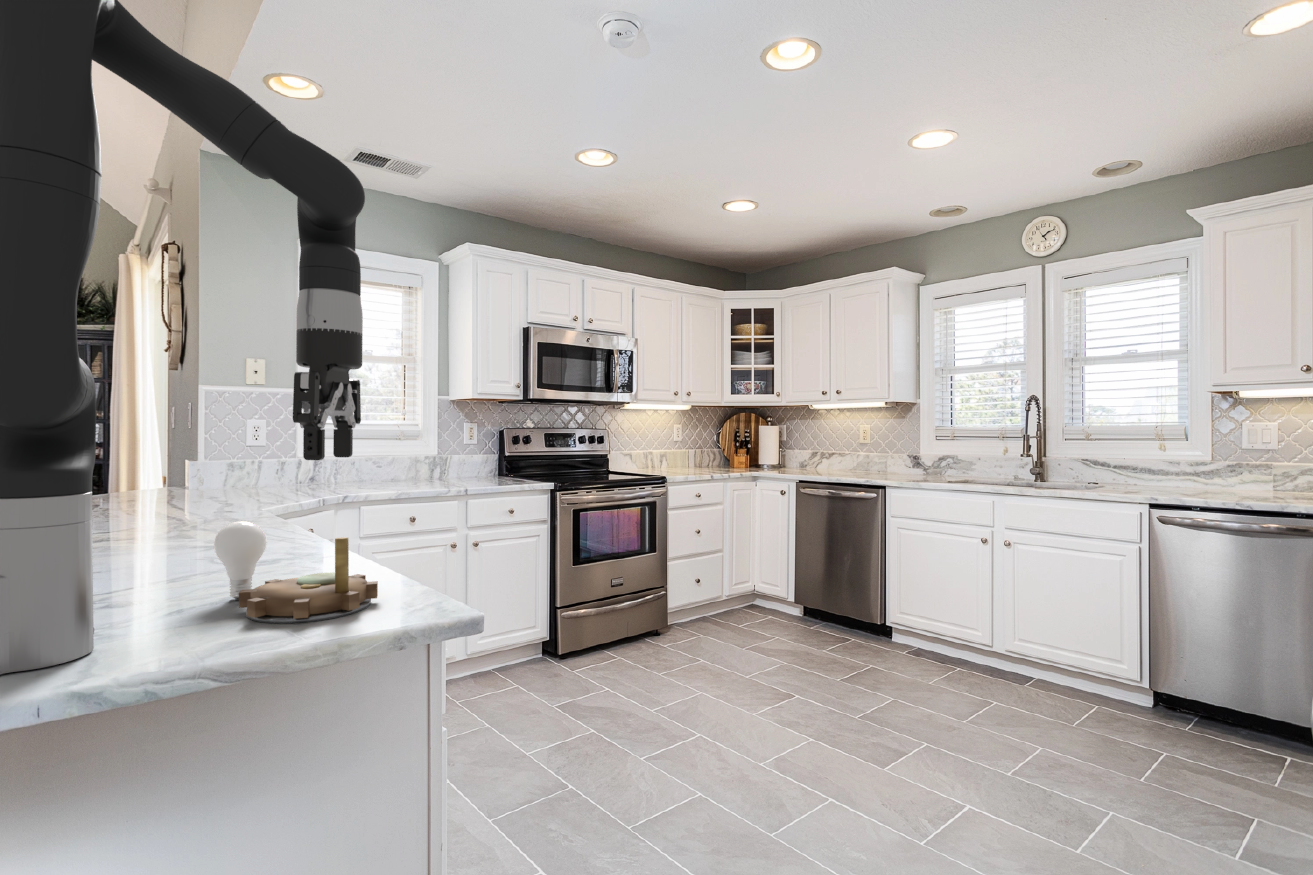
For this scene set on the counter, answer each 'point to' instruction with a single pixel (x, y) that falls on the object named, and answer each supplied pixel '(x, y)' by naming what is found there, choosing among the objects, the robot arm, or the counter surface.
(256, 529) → the lightbulb
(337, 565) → the sprocket
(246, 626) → the counter surface
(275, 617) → the plate
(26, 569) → the robot arm
